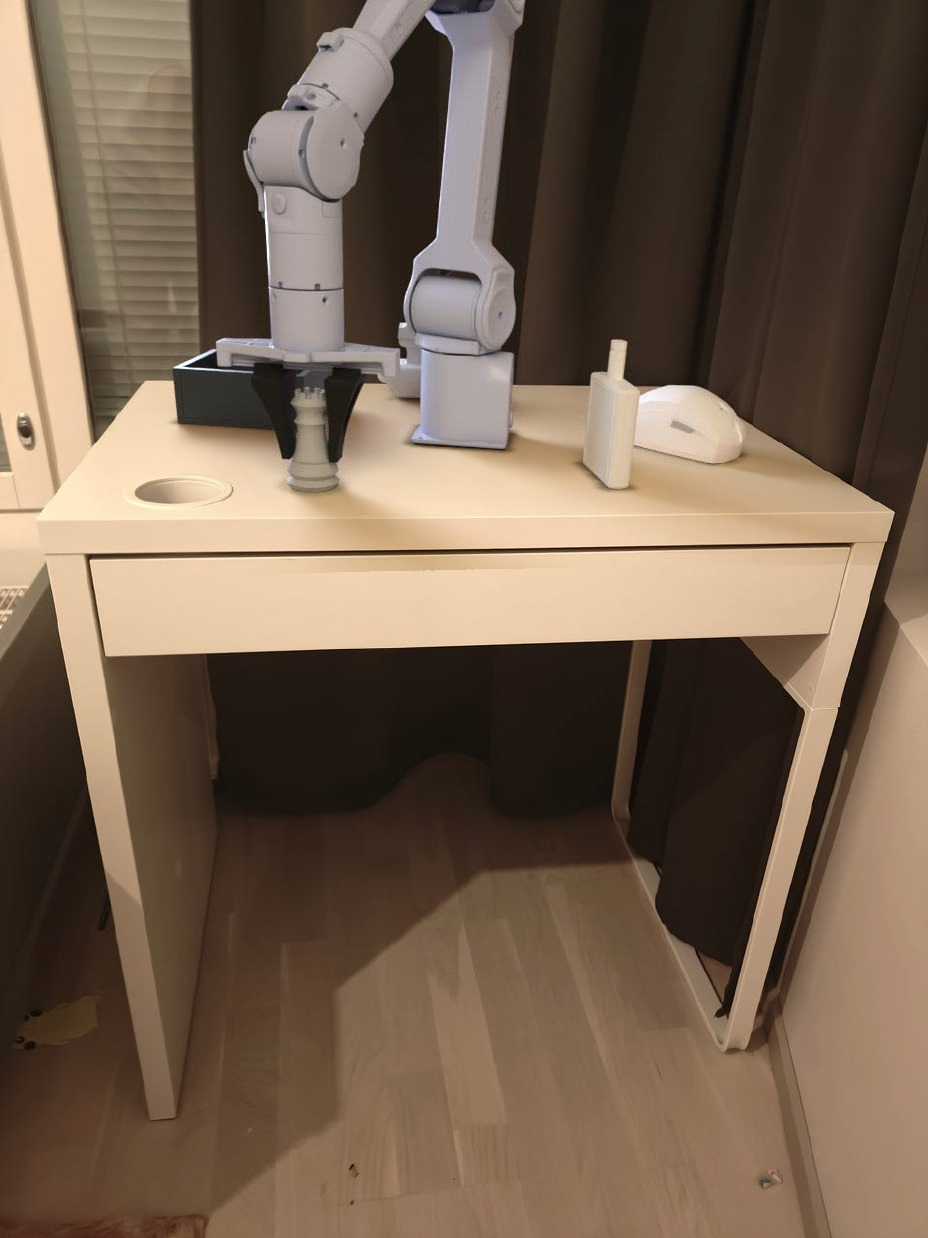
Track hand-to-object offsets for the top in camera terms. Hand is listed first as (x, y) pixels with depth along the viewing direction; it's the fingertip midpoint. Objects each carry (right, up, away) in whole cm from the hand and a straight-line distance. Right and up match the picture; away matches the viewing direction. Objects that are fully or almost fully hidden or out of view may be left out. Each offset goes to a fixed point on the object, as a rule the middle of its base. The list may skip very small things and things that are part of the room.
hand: (311, 457), depth 76 cm
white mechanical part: (+7, +13, +34) cm, 37 cm away
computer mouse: (+35, +4, +17) cm, 39 cm away
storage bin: (-10, +9, +23) cm, 26 cm away
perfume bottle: (+26, -1, +7) cm, 27 cm away
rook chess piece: (0, -2, +1) cm, 3 cm away
